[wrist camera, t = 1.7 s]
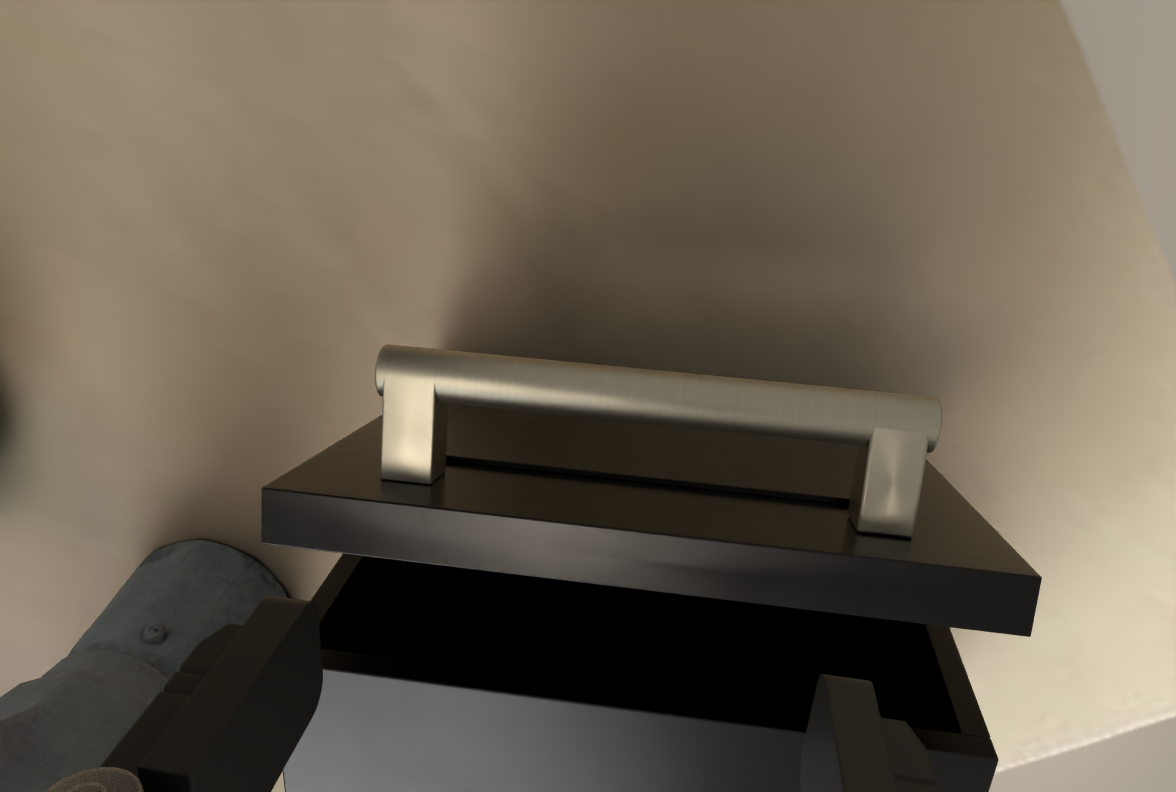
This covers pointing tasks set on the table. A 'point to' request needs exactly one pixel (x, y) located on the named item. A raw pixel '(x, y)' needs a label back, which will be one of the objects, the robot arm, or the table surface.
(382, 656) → the oven
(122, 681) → the moka pot
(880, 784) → the robot arm
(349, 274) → the table surface
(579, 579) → the oven door
